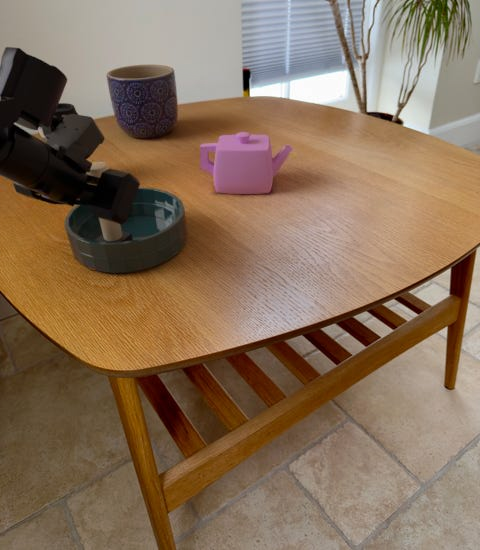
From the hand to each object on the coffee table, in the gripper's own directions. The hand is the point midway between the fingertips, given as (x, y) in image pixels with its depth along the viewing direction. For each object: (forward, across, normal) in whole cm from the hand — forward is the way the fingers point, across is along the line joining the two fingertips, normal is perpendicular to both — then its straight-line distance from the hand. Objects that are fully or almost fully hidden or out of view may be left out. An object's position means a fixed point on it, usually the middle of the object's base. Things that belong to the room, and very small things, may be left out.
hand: (113, 206), depth 65 cm
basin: (+7, 0, +4) cm, 8 cm away
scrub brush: (+4, 0, +6) cm, 7 cm away
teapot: (+27, -6, -16) cm, 32 cm away
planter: (+39, +32, -28) cm, 57 cm away
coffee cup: (+17, +28, -6) cm, 33 cm away
